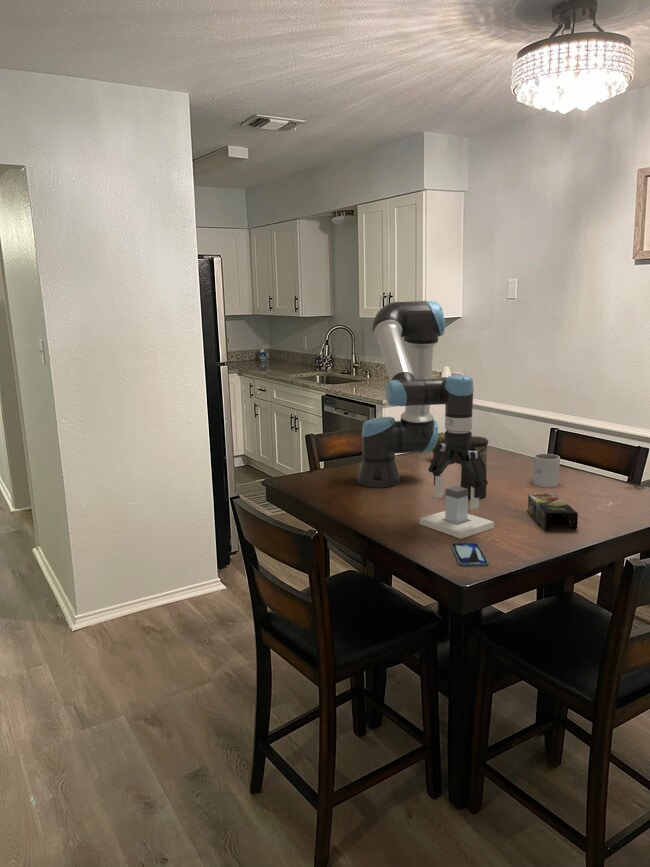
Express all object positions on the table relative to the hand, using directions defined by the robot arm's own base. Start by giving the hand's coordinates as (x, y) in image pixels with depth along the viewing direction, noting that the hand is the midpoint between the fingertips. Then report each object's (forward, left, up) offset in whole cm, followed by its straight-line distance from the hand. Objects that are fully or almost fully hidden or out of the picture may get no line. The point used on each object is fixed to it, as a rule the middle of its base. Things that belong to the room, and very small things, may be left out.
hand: (456, 502), depth 191 cm
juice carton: (+15, +25, -8) cm, 30 cm away
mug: (-11, +58, -7) cm, 60 cm away
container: (-17, +27, -7) cm, 32 cm away
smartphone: (+17, -14, -8) cm, 24 cm away
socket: (0, 0, -7) cm, 7 cm away
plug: (0, 0, -7) cm, 7 cm away
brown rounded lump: (-56, +55, -7) cm, 78 cm away
